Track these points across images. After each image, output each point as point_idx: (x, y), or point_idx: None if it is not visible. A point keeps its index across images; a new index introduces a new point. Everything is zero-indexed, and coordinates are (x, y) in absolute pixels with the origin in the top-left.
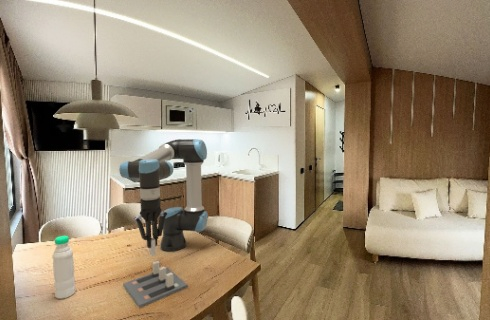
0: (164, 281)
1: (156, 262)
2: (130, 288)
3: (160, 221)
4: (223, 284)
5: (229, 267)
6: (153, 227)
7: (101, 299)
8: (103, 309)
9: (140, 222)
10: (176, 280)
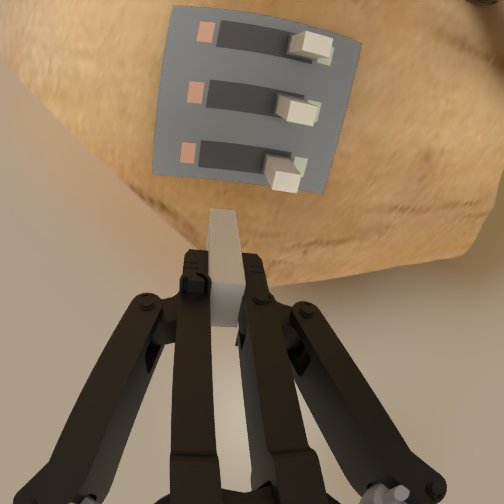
0: None
1: (319, 46)
2: (175, 56)
3: (341, 444)
4: (377, 252)
5: (447, 209)
6: (250, 408)
7: (88, 42)
8: (76, 101)
9: (91, 496)
10: (320, 143)
